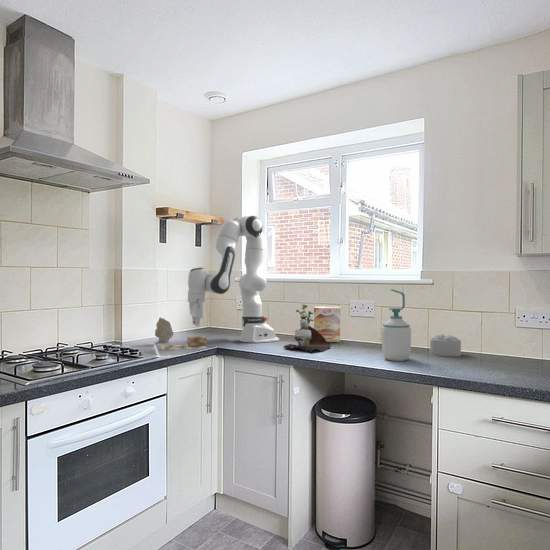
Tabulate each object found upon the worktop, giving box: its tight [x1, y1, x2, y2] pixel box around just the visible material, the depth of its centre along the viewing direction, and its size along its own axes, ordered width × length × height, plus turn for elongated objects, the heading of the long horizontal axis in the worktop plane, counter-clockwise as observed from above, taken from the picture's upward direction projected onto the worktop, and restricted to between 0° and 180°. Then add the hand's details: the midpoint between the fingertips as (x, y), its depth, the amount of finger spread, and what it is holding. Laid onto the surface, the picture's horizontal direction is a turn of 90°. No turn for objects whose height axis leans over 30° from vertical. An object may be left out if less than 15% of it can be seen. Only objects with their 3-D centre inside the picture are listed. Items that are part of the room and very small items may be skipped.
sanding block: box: [187, 335, 207, 347], centre depth 221 cm, size 9×5×4 cm, turn 109°
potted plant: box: [283, 303, 332, 353], centre depth 219 cm, size 20×19×25 cm
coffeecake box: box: [313, 306, 342, 343], centre depth 242 cm, size 15×7×20 cm, turn 80°
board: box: [160, 343, 207, 351], centre depth 218 cm, size 22×13×1 cm, turn 109°
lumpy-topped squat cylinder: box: [429, 334, 462, 357], centre depth 199 cm, size 10×13×9 cm
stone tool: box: [154, 316, 174, 343], centre depth 234 cm, size 11×4×15 cm, turn 77°
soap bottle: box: [381, 288, 412, 362], centre depth 188 cm, size 12×12×31 cm
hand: (195, 325), depth 220 cm, fingers open, 8 cm apart
